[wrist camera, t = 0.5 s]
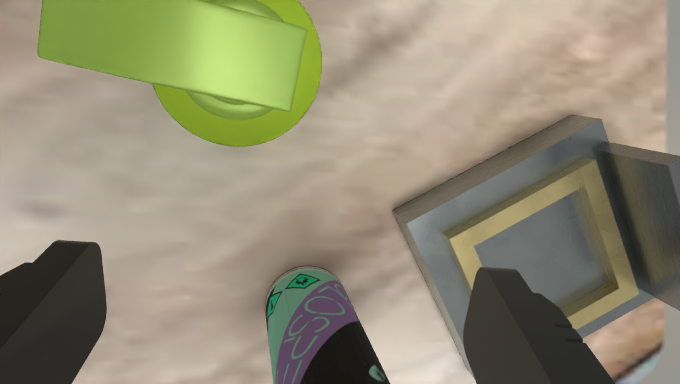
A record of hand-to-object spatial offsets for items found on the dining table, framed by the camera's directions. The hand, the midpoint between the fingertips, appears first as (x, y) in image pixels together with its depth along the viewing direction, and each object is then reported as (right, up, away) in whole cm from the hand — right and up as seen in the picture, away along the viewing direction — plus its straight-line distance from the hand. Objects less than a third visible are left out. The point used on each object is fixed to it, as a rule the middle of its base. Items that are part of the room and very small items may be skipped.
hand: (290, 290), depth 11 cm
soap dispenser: (-6, +10, +19) cm, 22 cm away
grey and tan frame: (+14, -2, +25) cm, 29 cm away
